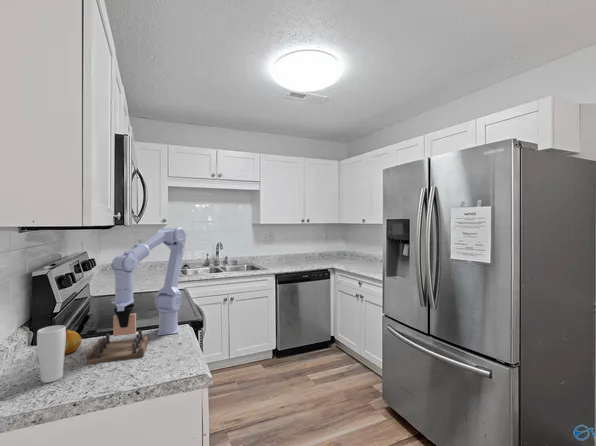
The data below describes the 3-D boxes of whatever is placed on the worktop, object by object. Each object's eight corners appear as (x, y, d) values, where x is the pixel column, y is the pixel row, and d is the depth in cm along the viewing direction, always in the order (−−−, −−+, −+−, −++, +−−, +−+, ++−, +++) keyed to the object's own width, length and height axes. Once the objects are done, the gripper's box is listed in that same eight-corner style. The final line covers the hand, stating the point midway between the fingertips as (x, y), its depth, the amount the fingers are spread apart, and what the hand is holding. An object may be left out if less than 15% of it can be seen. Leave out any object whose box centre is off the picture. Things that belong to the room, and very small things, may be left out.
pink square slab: (114, 334, 114) (114, 314, 114) (136, 332, 117) (136, 313, 117) (113, 336, 113) (113, 316, 113) (135, 333, 115) (135, 314, 115)
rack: (99, 345, 119) (99, 333, 119) (149, 340, 125) (149, 328, 125) (86, 364, 104) (85, 350, 104) (143, 356, 109) (143, 343, 109)
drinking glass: (50, 386, 90) (50, 333, 90) (31, 383, 92) (30, 332, 92) (71, 374, 97) (71, 325, 97) (53, 372, 98) (53, 324, 98)
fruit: (43, 350, 110) (56, 329, 111) (58, 343, 118) (71, 324, 119) (64, 362, 110) (77, 341, 111) (78, 354, 118) (90, 334, 119)
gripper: (116, 285, 120) (116, 321, 120) (106, 293, 106) (107, 334, 106) (136, 284, 122) (137, 319, 122) (130, 292, 109) (130, 331, 109)
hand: (124, 326), depth 115 cm, fingers closed on pink square slab, 2 cm apart
